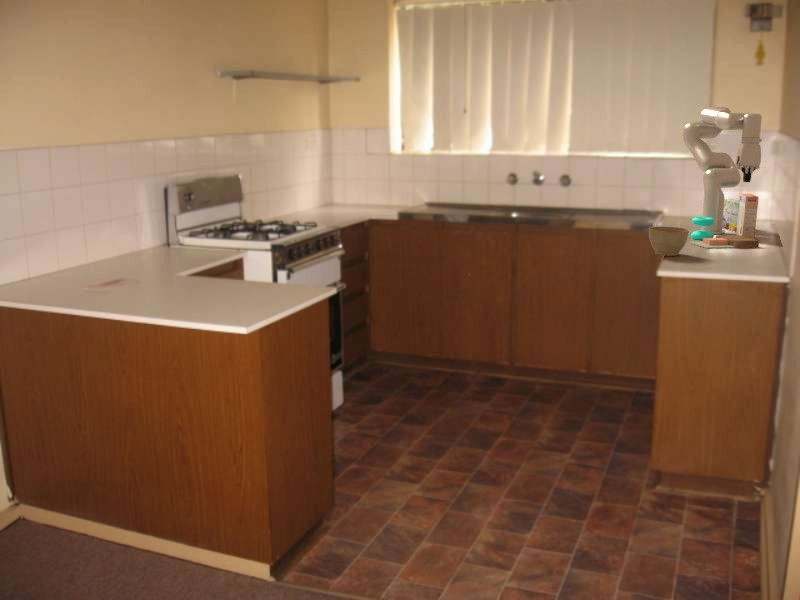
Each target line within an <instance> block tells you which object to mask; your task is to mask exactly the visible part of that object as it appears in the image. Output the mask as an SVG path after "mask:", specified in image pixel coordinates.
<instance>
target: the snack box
mask: <svg viewBox="0 0 800 600" xmlns="http://www.w3.org/2000/svg"><path fill="white" fill-rule="evenodd" d="M739 201H740V199H734V198H725V199H724V212H723V223H722V227H723V228H722V229H724V228H726V229H725V230H728V229H729V230H728V231H730V230H732V232H733V231H735V232H734V233H736V232H737V222H738V212H739Z"/></svg>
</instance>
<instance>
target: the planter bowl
mask: <svg viewBox="0 0 800 600" xmlns="http://www.w3.org/2000/svg"><path fill="white" fill-rule="evenodd" d="M689 233H690V230H689V229H688V228H683V227H675V226H650V227H648V239H649V242H650V244H651V247H652V248H653V250H654V254H655V255H658V256H664V257H665V256H666V257H674V256H678V255H680V252H681V251H682V249H684V246H685V245H686V243H687V241H688V238H689V237H688V236H689Z"/></svg>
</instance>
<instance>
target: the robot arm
mask: <svg viewBox="0 0 800 600" xmlns="http://www.w3.org/2000/svg"><path fill="white" fill-rule="evenodd" d="M699 119H700V120H701V121H699V120H698V121H692V122H691V121H690V122H688V123H686V124H685V125H684V127H683V129H682V139H683V142H684V145H685V146H686V147H687V149H688V150H689V151H690V153H691V155H692V157H693V158H694V160H695V162H696V163H697V166H698V167H699V169H700V170H701V172H704V173H703V178H702V181H703V204H702V205H703V207H702V216H701V217H710V218H713V219H714V220H715V222H714V224H713V225H711V226H701V228H700V229H697V231H709V232H711V233H712V234H713V235H725V234H726V231H725V229H723V228H722V223H723V212H724V199H726V198H725V194H724V191H723V190H722V189H724V188H735V187H737V186H739V184H740V183H741V179H742V180H743V183H751V181H752V174H753V172H755V171H756V170H760V166H761V162H762V161H761V160H762V148H761V144H760V143H761V142H762V141H763V139H762V138H761V137H760V136H761V128H762V114H761V113H751V112H732V111H731V109H730V108H728V107H726V106H709V107H706V108H703V109H702V111H701V112H700V114H699ZM724 130H727V131H728V130H729V131H733V130H740V131H742V132H741V134H742V135H741V144H739V145H738V148H737V152H736V155H735V157H736V158H735V162H734V160H733V158H732V157H731V156H730V155H729V153H727V152H718V151H717V152H715V151H712V149H711V148H710V146H709V144H708V143H706V141H704V140H705V139H715V138H717V137H718V136H719V135H720V134H721V133H722V131H724ZM703 139H704V140H703ZM739 170H740V171H739ZM740 172H742V176H743V177H741V173H740Z"/></svg>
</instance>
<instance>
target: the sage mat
mask: <svg viewBox="0 0 800 600" xmlns="http://www.w3.org/2000/svg"><path fill="white" fill-rule="evenodd" d="M691 243H692V244H691ZM689 244H691V245H694V244H695V245H694V246H697V245H698V247H700V246H701V248H703V247H704V249H706V248H707V250H708V249H711V250H712V248H716V249H736V248H735V247H734V246H731V245H707V244H704V243H703V240H700V241H689Z"/></svg>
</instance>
